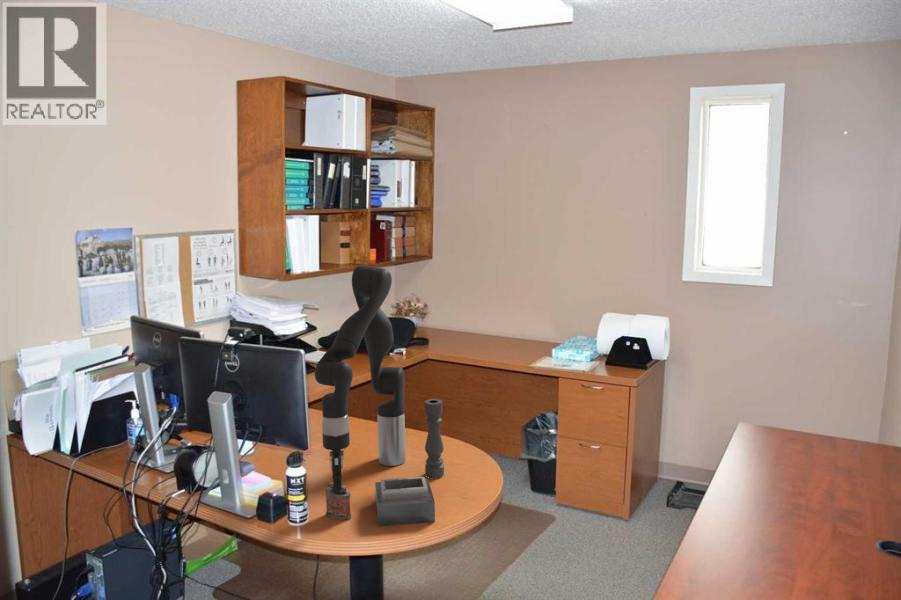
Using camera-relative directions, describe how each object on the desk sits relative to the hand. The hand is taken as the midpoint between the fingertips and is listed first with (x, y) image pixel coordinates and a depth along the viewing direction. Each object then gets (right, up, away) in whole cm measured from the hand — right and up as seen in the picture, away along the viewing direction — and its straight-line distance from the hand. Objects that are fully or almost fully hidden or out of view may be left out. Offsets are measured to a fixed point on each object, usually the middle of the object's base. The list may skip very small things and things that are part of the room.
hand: (337, 484), depth 202 cm
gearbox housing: (+19, -9, +5) cm, 21 cm away
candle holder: (+27, -5, +30) cm, 41 cm away
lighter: (0, -10, +2) cm, 10 cm away
